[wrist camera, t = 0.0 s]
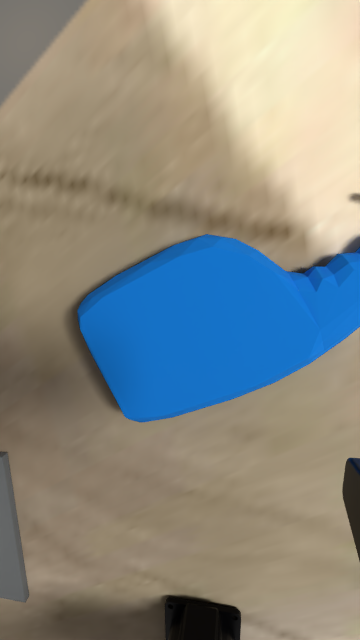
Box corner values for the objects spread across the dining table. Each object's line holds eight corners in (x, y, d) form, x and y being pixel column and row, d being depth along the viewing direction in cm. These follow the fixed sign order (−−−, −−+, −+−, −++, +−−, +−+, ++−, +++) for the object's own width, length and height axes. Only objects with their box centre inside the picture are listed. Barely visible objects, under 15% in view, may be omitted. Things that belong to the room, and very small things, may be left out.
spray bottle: (131, 442, 22) (537, 304, 17) (57, 299, 21) (479, 94, 15) (142, 419, 25) (493, 295, 20) (78, 292, 24) (439, 118, 18)
